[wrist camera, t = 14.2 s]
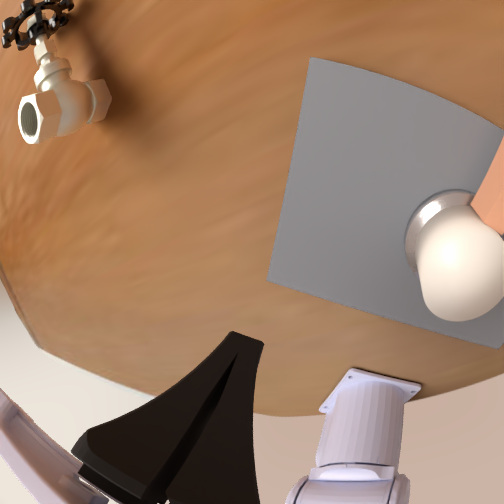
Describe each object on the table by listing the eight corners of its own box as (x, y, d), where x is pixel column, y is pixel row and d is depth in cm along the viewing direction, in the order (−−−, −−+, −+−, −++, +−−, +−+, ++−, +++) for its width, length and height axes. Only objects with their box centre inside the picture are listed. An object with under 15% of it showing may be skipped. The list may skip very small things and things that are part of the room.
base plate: (494, 336, 17) (499, 355, 15) (272, 267, 21) (263, 287, 19) (579, 190, 9) (595, 203, 7) (314, 59, 12) (308, 55, 11)
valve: (132, 99, 17) (87, -9, 12) (59, 119, 12) (21, -10, 7) (85, 139, 20) (47, 39, 15) (23, 166, 15) (-12, 50, 10)
